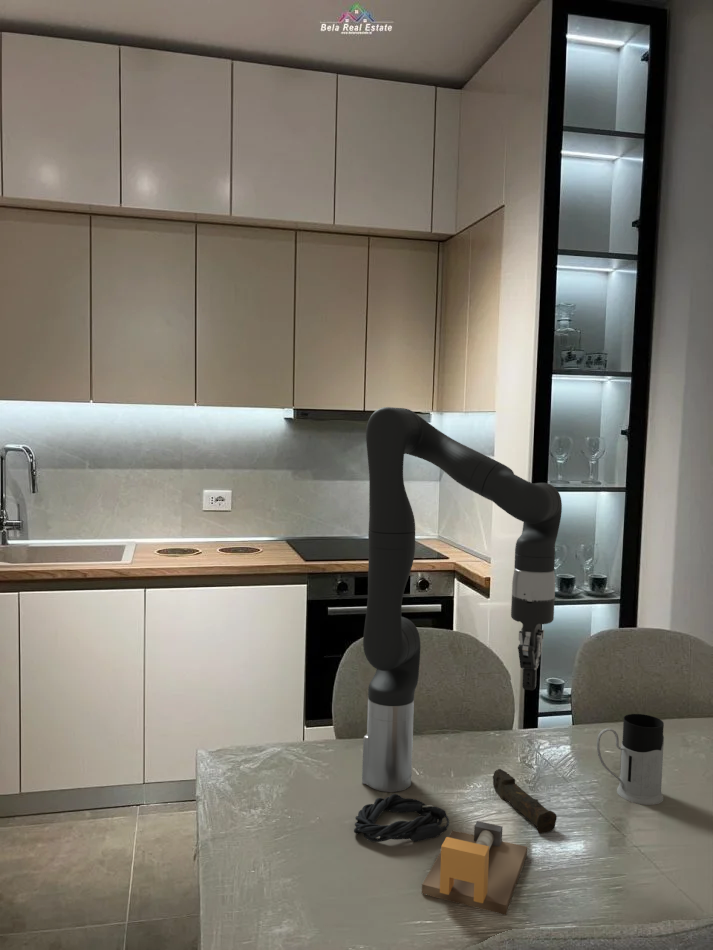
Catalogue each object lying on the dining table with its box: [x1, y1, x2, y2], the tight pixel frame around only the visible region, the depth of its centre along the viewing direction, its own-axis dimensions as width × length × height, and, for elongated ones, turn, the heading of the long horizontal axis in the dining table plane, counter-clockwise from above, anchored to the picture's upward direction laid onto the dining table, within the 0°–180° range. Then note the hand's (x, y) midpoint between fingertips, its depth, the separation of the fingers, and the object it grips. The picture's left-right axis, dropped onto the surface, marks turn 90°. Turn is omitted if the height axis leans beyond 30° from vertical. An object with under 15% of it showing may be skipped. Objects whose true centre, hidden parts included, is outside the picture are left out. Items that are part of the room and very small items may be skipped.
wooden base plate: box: [421, 820, 528, 916], centre depth 128 cm, size 13×18×4 cm
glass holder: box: [596, 713, 665, 806], centre depth 157 cm, size 9×14×15 cm, turn 102°
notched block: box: [440, 836, 489, 903], centre depth 119 cm, size 7×3×7 cm, turn 68°
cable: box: [353, 793, 450, 843], centre depth 142 cm, size 17×14×4 cm
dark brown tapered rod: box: [492, 768, 558, 834], centre depth 150 cm, size 19×4×5 cm, turn 18°
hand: (529, 688), depth 143 cm, fingers closed
